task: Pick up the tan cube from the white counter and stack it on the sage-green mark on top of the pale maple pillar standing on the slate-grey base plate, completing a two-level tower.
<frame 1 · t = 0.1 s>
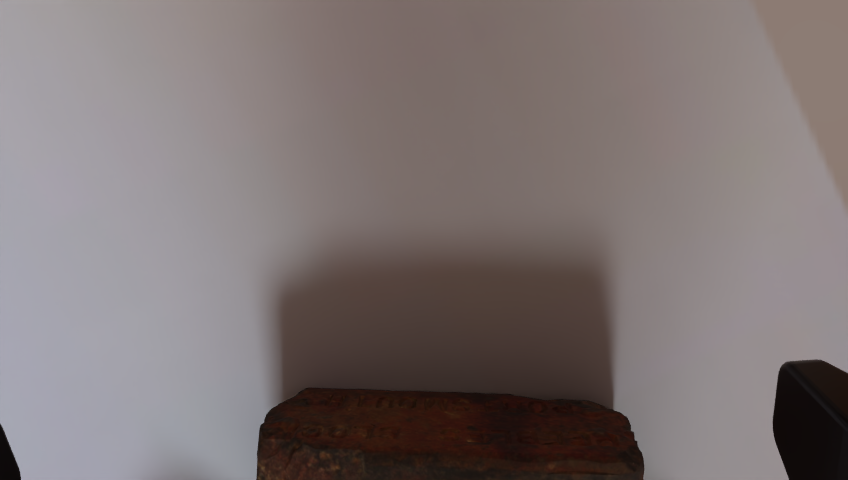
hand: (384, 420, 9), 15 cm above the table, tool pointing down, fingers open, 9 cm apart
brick: (447, 440, 26), on the table
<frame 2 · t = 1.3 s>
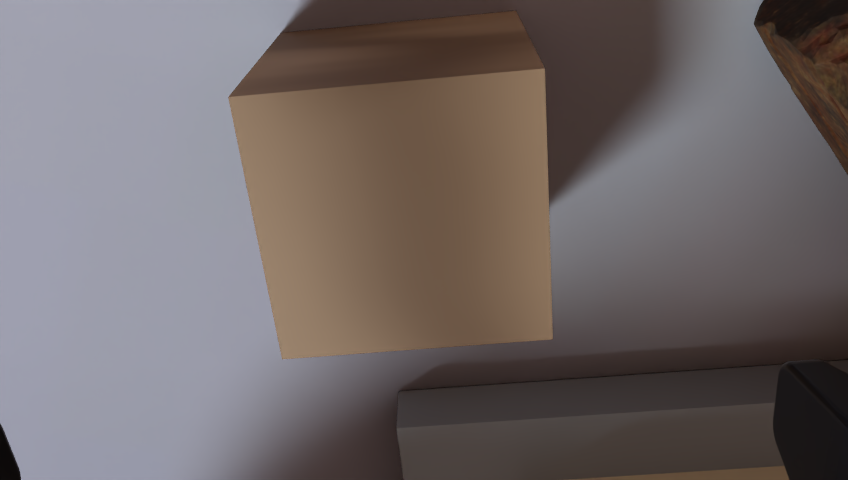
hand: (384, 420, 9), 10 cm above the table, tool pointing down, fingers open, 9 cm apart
tan cube: (409, 133, 18), on the table
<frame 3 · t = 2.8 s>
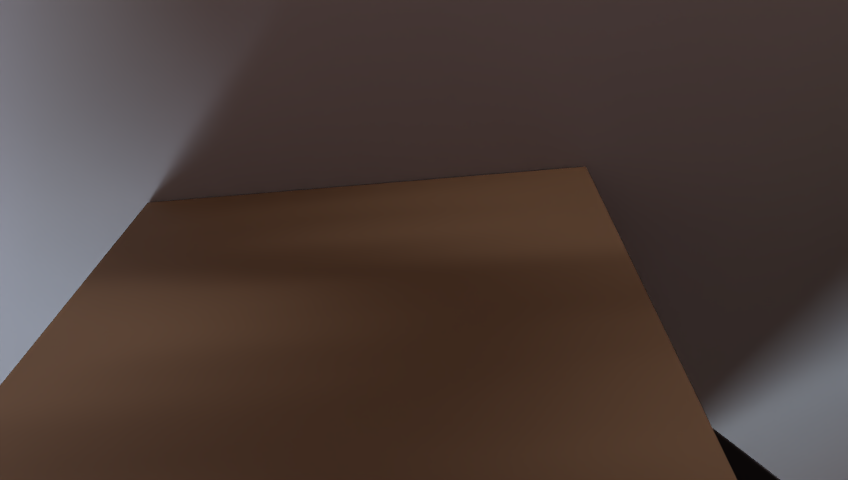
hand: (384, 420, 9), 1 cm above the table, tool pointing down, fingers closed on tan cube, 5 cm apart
tan cube: (388, 367, 10), on the table, touching gripper
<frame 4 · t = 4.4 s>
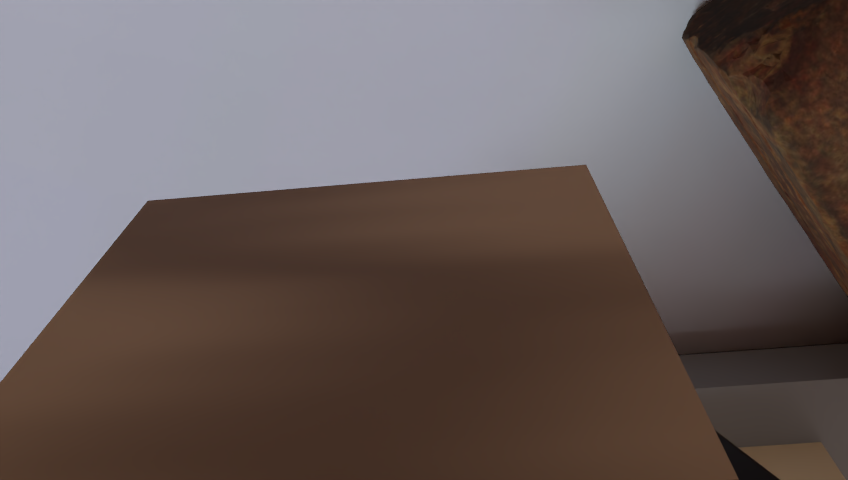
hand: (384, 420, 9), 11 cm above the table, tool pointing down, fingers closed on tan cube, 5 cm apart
tan cube: (388, 366, 10), point 10 cm above the table, touching gripper
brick: (846, 147, 20), on the table
when the fingers open (7 cm above the table, at t = 6.5 s): tan cube stays where it is, resting on foundation.
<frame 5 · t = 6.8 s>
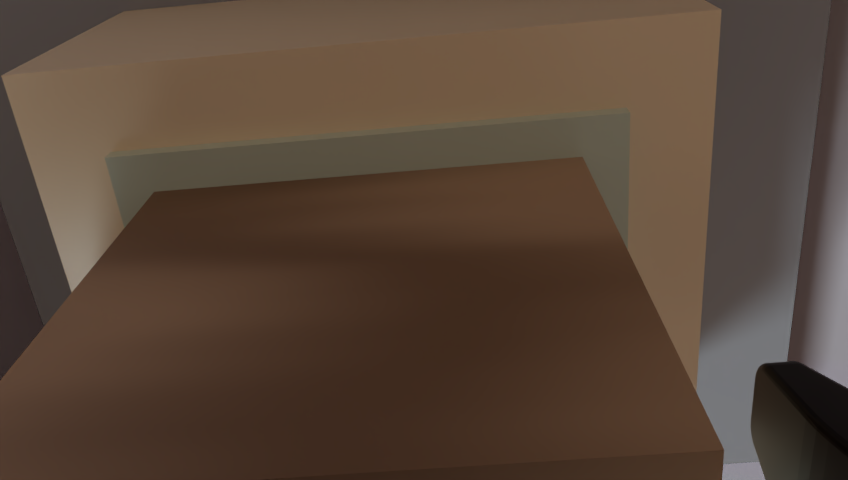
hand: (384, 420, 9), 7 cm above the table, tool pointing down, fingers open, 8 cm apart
tan cube: (389, 354, 10), point 6 cm above the table, touching foundation
foundation: (405, 189, 16), on the table
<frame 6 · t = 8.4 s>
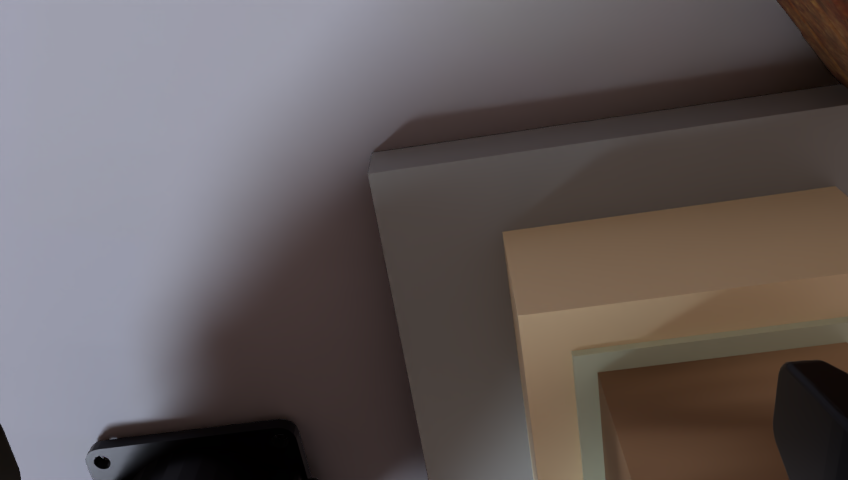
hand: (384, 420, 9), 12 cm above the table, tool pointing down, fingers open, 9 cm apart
tan cube: (720, 452, 17), point 6 cm above the table, touching foundation
foundation: (655, 317, 23), on the table
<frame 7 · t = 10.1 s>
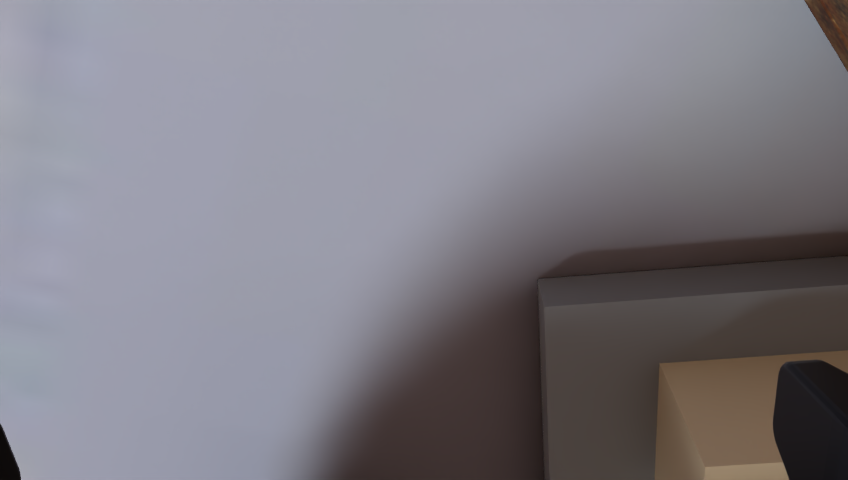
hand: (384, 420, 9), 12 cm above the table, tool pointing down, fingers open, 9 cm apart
foundation: (776, 435, 24), on the table
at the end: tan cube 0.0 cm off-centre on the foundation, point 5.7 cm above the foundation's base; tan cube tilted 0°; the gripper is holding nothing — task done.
